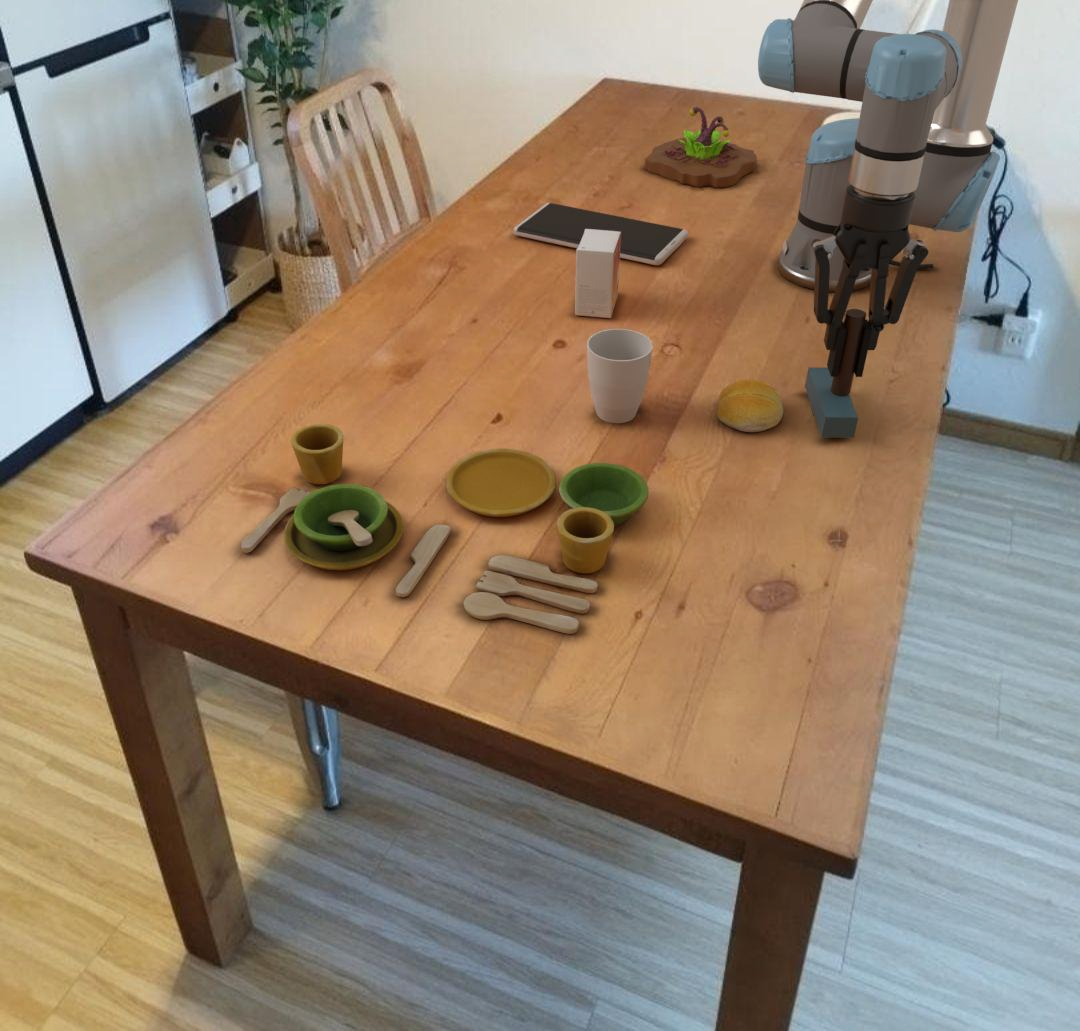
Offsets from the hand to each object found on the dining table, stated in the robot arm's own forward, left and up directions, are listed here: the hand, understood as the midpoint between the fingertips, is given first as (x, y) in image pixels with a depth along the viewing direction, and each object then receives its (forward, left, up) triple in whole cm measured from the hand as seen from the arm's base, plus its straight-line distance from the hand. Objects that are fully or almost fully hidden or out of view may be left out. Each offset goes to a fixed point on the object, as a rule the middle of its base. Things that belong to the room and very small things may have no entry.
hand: (844, 370), depth 134 cm
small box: (+30, -30, -7) cm, 43 cm away
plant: (+9, -89, -7) cm, 90 cm away
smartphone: (+29, -55, -7) cm, 63 cm away
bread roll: (+11, 0, -7) cm, 13 cm away
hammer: (0, 0, -6) cm, 6 cm away
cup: (+28, 0, -7) cm, 29 cm away
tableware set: (+48, +23, -7) cm, 53 cm away
